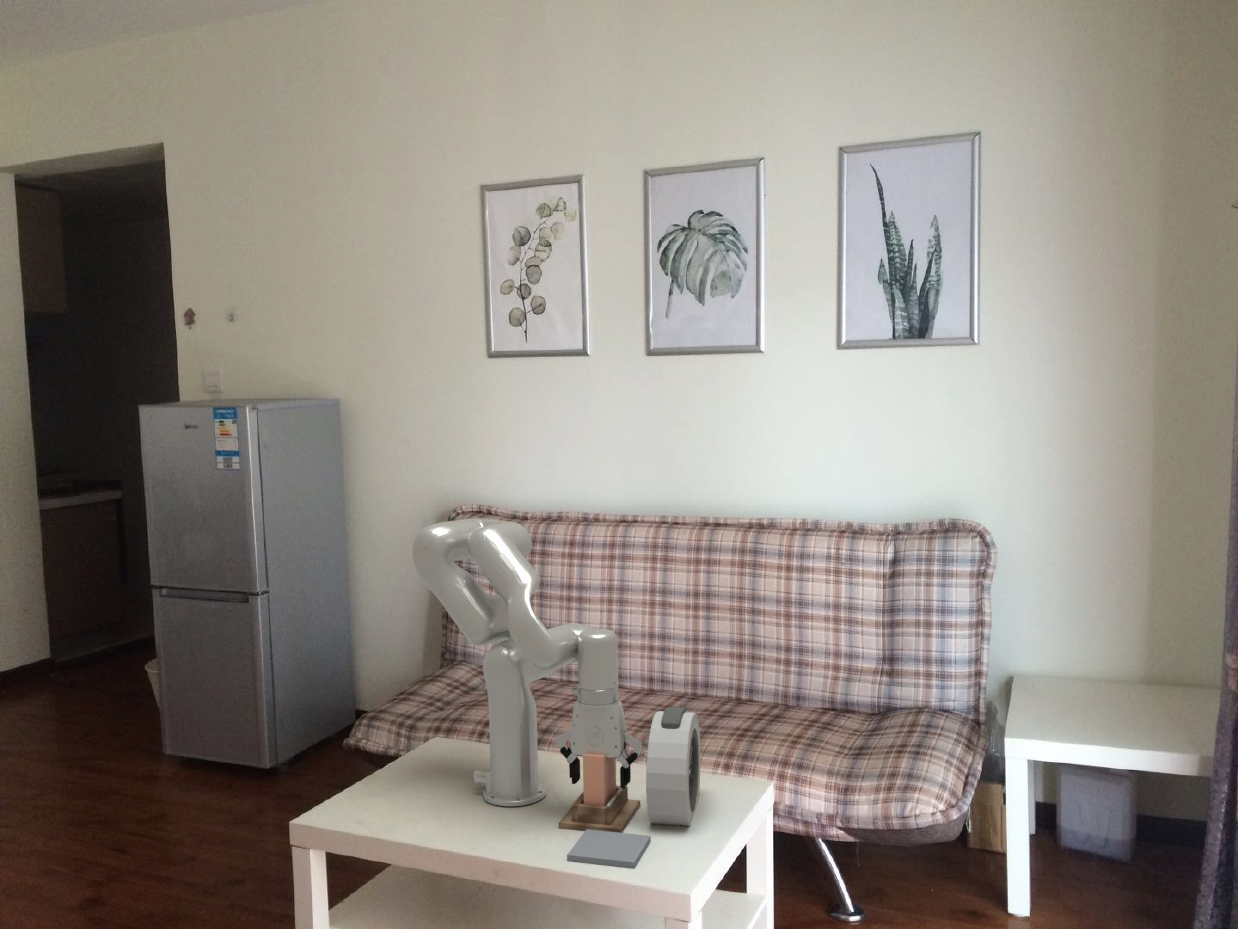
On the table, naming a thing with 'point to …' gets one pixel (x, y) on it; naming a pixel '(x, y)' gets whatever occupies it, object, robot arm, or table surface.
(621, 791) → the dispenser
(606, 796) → the salmon pink tall block
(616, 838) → the mat
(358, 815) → the table surface
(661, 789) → the alarm clock
